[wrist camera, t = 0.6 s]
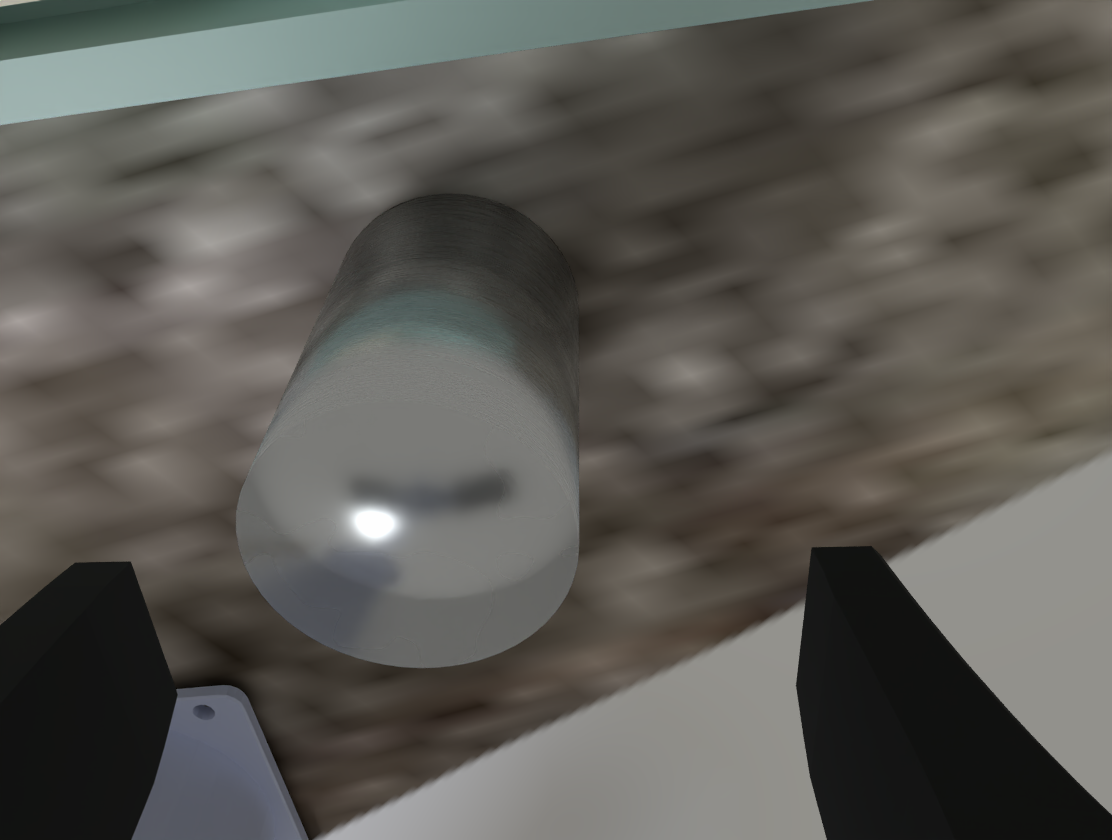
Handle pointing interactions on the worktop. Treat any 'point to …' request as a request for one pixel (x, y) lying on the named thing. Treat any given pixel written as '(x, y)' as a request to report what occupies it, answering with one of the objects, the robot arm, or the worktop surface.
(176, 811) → the robot arm
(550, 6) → the tote
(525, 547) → the tin can
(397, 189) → the worktop surface
